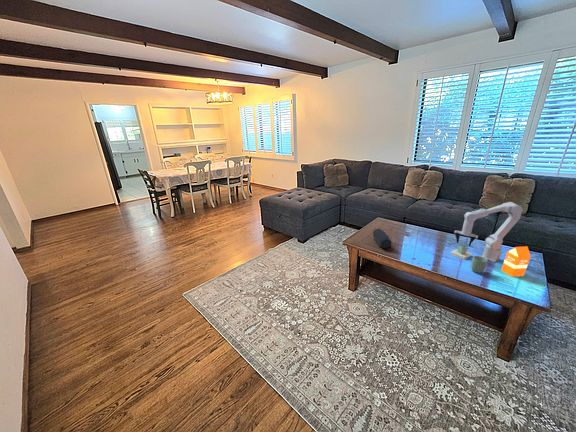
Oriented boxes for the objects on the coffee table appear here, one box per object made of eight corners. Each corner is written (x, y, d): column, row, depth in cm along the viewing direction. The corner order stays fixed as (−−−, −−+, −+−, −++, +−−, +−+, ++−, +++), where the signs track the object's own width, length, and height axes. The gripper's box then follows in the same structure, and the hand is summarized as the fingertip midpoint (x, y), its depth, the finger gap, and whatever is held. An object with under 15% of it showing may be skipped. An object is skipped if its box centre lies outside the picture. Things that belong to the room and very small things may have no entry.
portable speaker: (392, 249, 196) (393, 239, 193) (380, 250, 196) (381, 239, 193) (382, 237, 220) (383, 227, 216) (371, 237, 220) (372, 227, 217)
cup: (470, 267, 169) (473, 254, 166) (484, 270, 164) (487, 258, 161) (469, 271, 164) (472, 259, 160) (483, 275, 159) (487, 262, 155)
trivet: (470, 256, 184) (471, 253, 183) (463, 260, 179) (464, 256, 179) (457, 251, 192) (457, 248, 191) (450, 254, 188) (450, 251, 187)
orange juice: (500, 270, 165) (509, 244, 158) (512, 269, 165) (521, 243, 158) (511, 276, 157) (521, 249, 151) (524, 275, 158) (533, 249, 151)
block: (465, 253, 183) (467, 246, 181) (460, 254, 183) (462, 247, 180) (461, 251, 187) (463, 244, 185) (456, 251, 186) (458, 244, 184)
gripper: (480, 228, 175) (476, 245, 180) (457, 223, 185) (453, 239, 190) (478, 231, 171) (474, 248, 175) (455, 226, 181) (451, 242, 185)
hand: (463, 244), depth 182 cm, fingers open, 7 cm apart
